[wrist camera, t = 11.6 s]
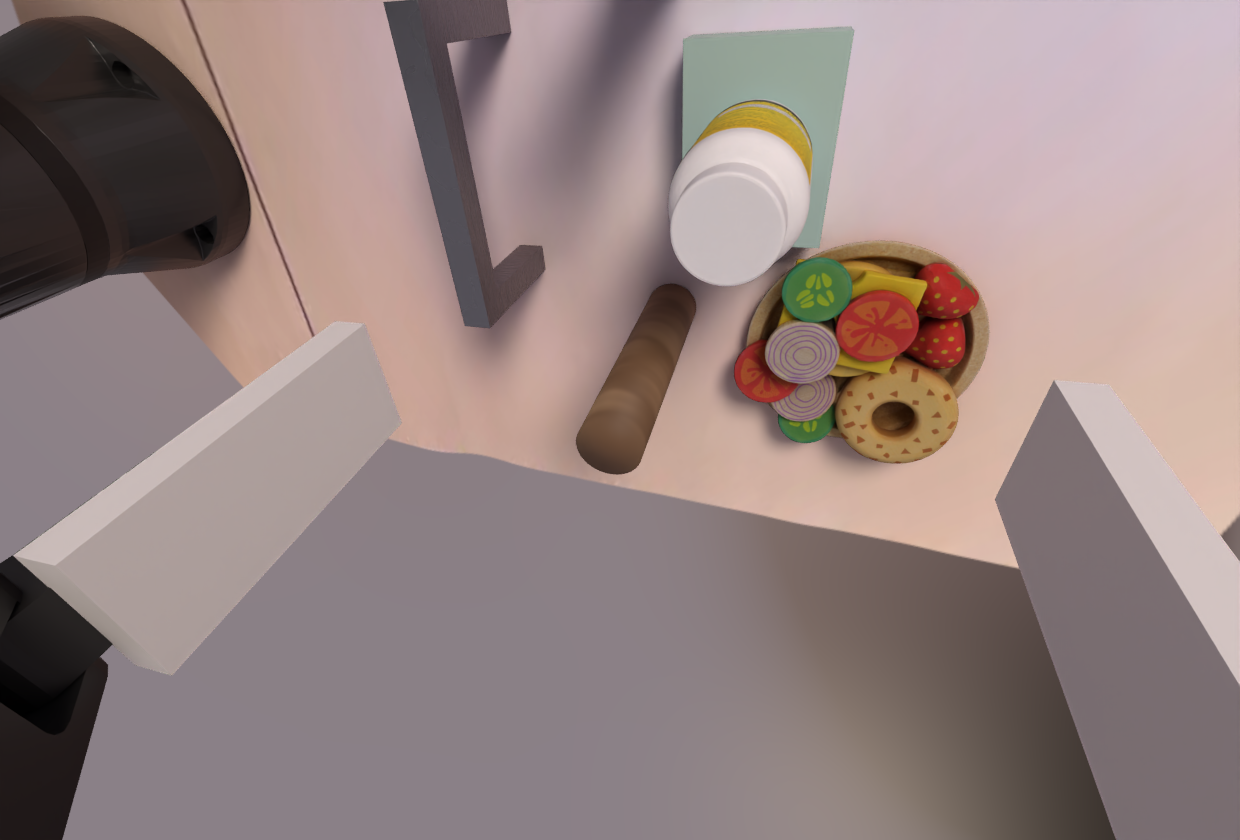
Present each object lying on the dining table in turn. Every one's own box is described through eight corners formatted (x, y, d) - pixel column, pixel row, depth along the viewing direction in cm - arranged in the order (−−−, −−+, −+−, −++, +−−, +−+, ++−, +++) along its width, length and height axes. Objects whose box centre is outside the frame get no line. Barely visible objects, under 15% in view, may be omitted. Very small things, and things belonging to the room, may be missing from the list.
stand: (689, 227, 32) (681, 242, 30) (692, 34, 26) (683, 39, 24) (818, 231, 30) (819, 248, 28) (851, 26, 25) (854, 30, 23)
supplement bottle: (696, 99, 26) (646, 148, 18) (820, 93, 24) (822, 144, 17) (695, 219, 29) (653, 301, 21) (805, 219, 27) (800, 309, 20)
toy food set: (925, 449, 37) (932, 483, 34) (724, 407, 39) (718, 436, 36) (1031, 254, 28) (1052, 280, 26) (768, 215, 31) (764, 235, 28)
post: (649, 326, 36) (579, 469, 26) (648, 282, 34) (572, 417, 24) (695, 329, 36) (643, 478, 25) (696, 285, 34) (640, 425, 23)
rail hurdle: (523, 268, 36) (464, 326, 30) (478, -3, 28) (383, 2, 22) (545, 269, 36) (489, 328, 30) (505, -5, 27) (417, -1, 21)
